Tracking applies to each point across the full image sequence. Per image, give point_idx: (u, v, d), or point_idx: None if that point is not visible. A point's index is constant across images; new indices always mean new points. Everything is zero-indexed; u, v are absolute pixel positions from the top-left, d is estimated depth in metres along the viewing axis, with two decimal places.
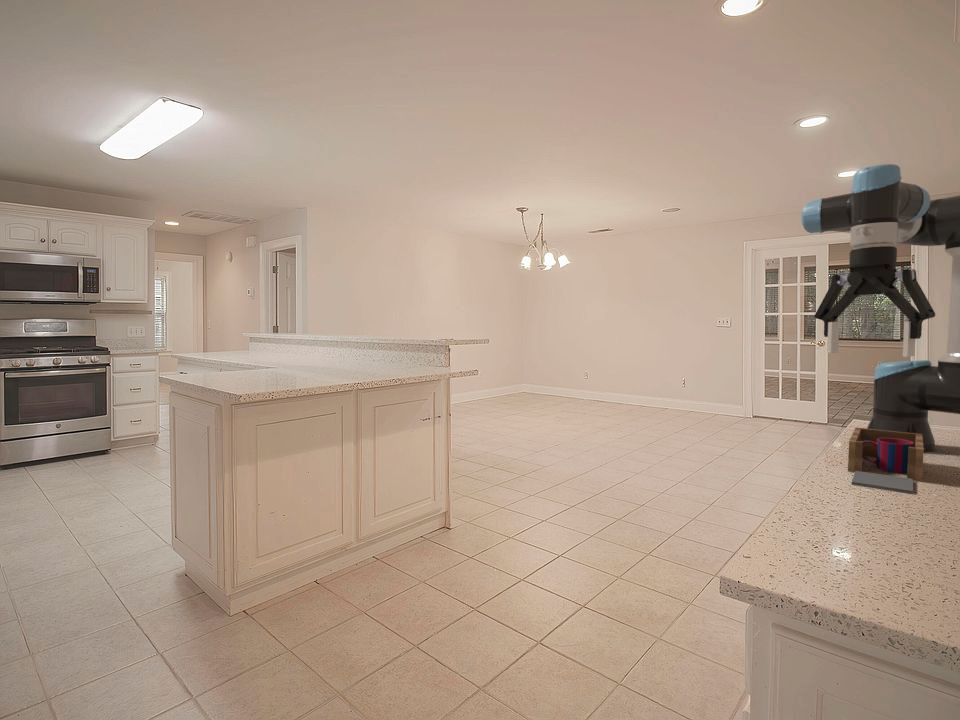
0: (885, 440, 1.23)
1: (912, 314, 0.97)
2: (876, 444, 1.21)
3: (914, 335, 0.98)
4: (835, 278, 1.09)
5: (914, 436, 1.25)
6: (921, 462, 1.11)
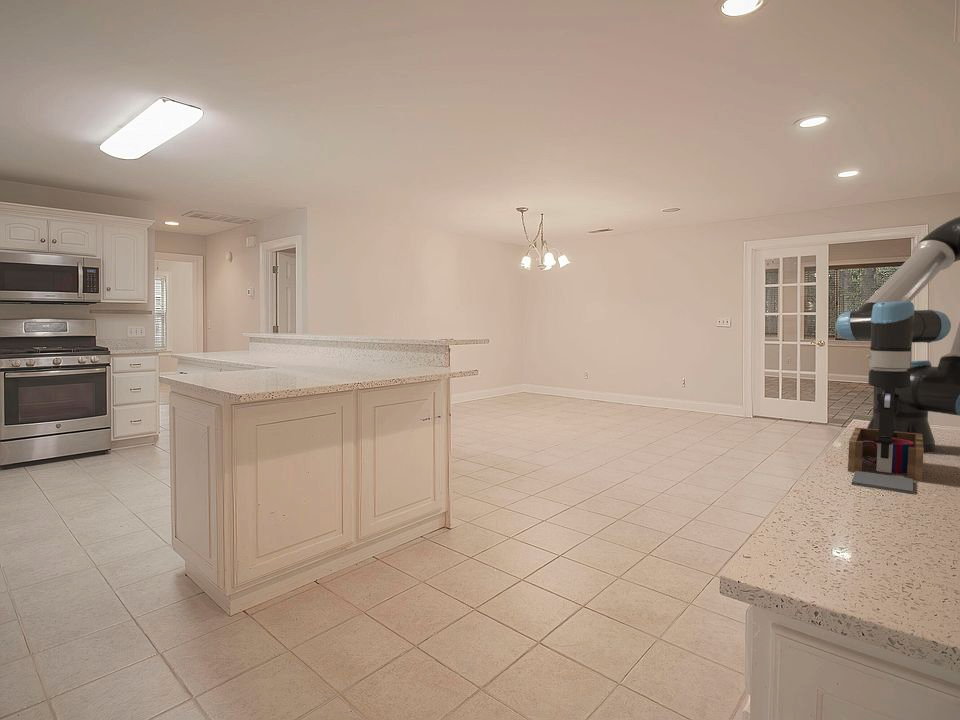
0: None
1: None
2: (876, 444, 1.21)
3: (880, 454, 1.18)
4: None
5: (914, 436, 1.25)
6: (921, 462, 1.11)
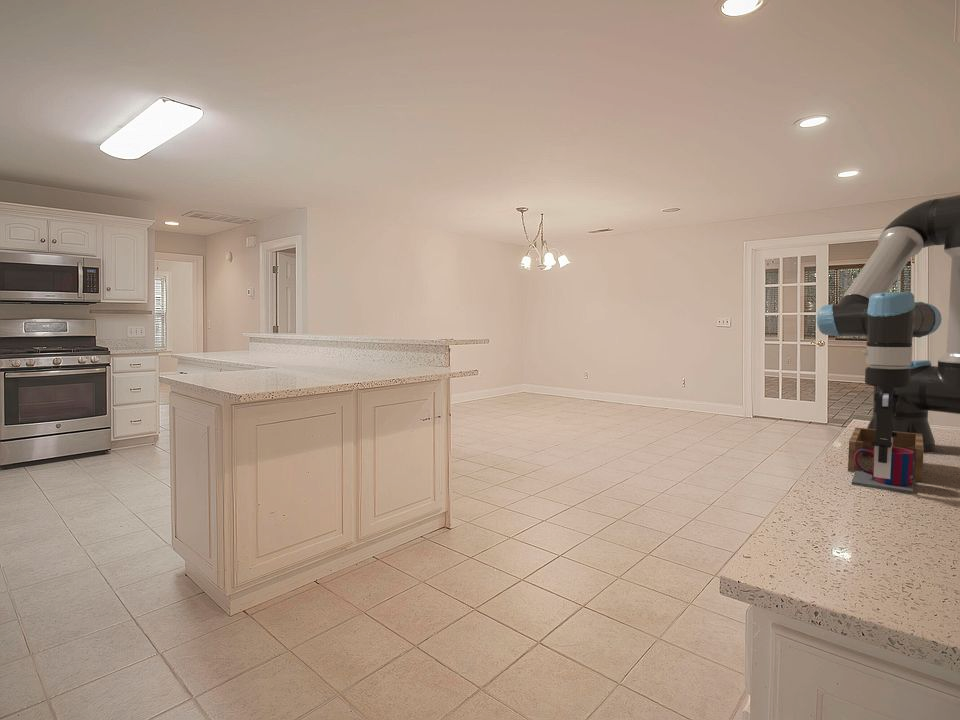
0: None
1: None
2: (873, 453, 1.11)
3: (878, 458, 1.06)
4: None
5: (914, 436, 1.25)
6: (921, 462, 1.11)
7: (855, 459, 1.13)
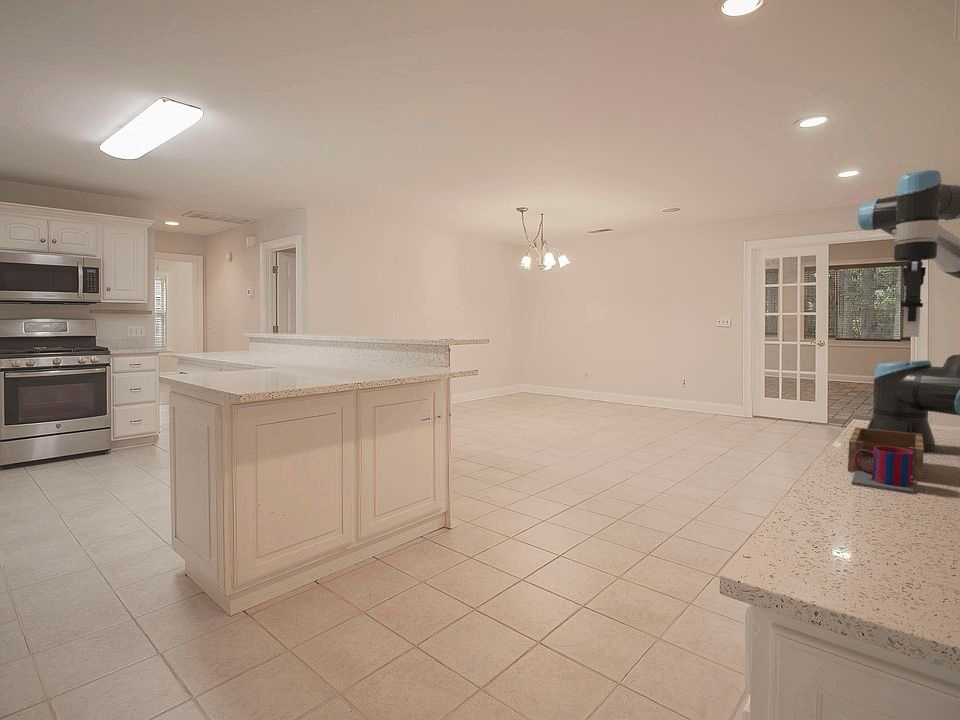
0: (882, 449, 1.13)
1: None
2: (873, 453, 1.11)
3: (907, 318, 1.15)
4: None
5: (914, 436, 1.25)
6: (921, 462, 1.11)
7: (855, 459, 1.13)
